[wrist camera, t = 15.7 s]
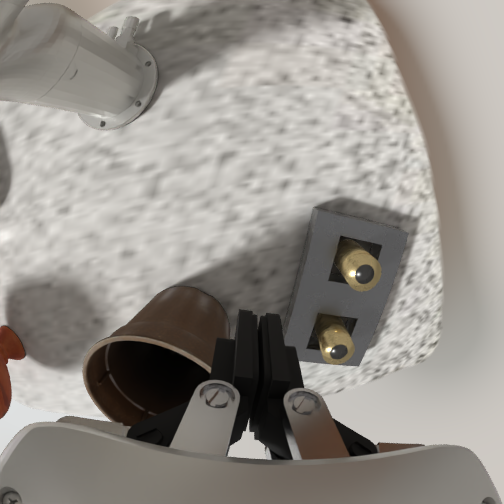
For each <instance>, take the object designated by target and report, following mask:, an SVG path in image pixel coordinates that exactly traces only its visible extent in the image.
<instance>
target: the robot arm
mask: <svg viewBox="0 0 504 504" xmlns="http://www.w3.org/2000/svg"><path fill="white" fill-rule="evenodd" d="M28 1H29V0H0V101H10V102H18V103H24V104H31V105H37V106H43V107H49V108H54V109H60V110H65V111H70V112H75V113H78V116H79V117H80V119H81V120H82V121H83V122H84V123H85V124H86V125H87V126H89V127H91V128H94V129H98V130H114V129H117V128H120V127H123V126H125V125H126V124H128V123H130V122H131V121H133V120H134V119H135V118H137V117H138V116H139V115H140V114H141V113H142V112H143V110H144V109H145V108H146V106H147V105H148V104H149V102H150V100H151V98H152V96H153V94H154V92H155V89H156V86H157V79H158V69H157V65H156V61H155V60H154V58H153V56H152V55H151V54H150V53H149V52H148V51H147V50H146V49H145V48H144V47H142V46H140V45H138V44H134V40H135V39H134V38H133V35H134V32H135V31H136V28H137V25H138V22H139V19H138V18H137V17H132V16H131V17H126V19H125V21H124V24H123V27H122V31H121V34H120V36H118V37H117V38H116V41H115V40H114V39H115V37H116V35H117V32H118V28H117V27H109V29H108V32H107V34H105V33H104V32H103V31H101V30H100V29H98V28H97V27H96V26H94V25H93V24H91V23H90V22H88V21H87V20H86V19H84V18H83V17H81V16H80V15H78V14H77V13H75V12H74V11H72V10H71V9H69V8H67V7H65V6H63V5H60V4H54V3H41V4H34V5H29V6H26V7H25V5H26V3H27V2H28ZM149 65H150V66H149ZM141 103H142V104H141ZM140 104H141V106H140ZM105 123H106V124H105ZM248 420H249V430H250V432H254V438H255V440H259V441H260V442H261V443H263V444H264V445H265V454H266V458H267V459H249V458H236V457H227V456H228V452H229V448H230V446H231V445H232V444H234V443H235V442H237V441H238V440H240V439H241V437H242V433H243V431H246V427H247V424H248ZM0 504H502V502H501V499H500V497H499V495H498V492H497V490H496V488H495V486H494V484H493V482H492V480H491V478H490V476H489V474H488V472H487V471H486V469H485V467H484V466H483V464H482V463H481V461H480V460H479V459H478V457H477V456H476V455H475V454H474V453H473V452H472V451H471V450H469V449H468V448H465V447H461V446H456V445H429V446H425V445H422V444H398V443H380V442H379V443H378V444H377V445H374V444H373V443H372V442H371V441H370V440H368V439H367V438H365V437H363V436H361V435H360V434H358V433H356V432H354V431H353V430H351V429H350V428H348V427H346V426H345V425H343V424H341V423H340V422H338V421H337V420H335V419H333V418H332V416H331V414H330V412H329V410H328V407H327V405H326V403H325V401H324V400H323V398H322V396H320V395H319V394H318V393H317V392H315V391H313V390H310V389H306V388H304V384H303V380H302V375H301V370H300V365H299V360H298V355H297V351H296V347H295V346H285V343H284V337H283V331H282V325H281V319H280V315H279V314H271V313H266V315H265V316H261V317H260V321H259V326H258V325H257V315H253V312H252V311H248V310H240V309H239V314H238V320H237V326H236V333H235V339H234V340H233V339H226V338H219V337H217V339H216V345H215V350H214V356H213V362H212V367H211V373H210V379H209V380H208V381H205V382H203V383H201V384H200V385H198V387H197V388H196V389H195V392H194V394H193V396H192V398H191V400H190V401H188V402H186V403H183V404H181V405H179V406H177V407H174V408H172V409H170V410H168V411H165V412H163V413H160V414H158V415H156V416H153V417H151V418H148V419H146V420H143V421H141V422H138V423H136V424H135V425H133V426H132V427H130V426H124V425H123V423H117V422H108V421H100V420H93V419H86V418H80V417H74V416H65V417H62V418H60V419H59V420H58V421H56V422H37V423H33V424H29V425H28V426H26V427H24V428H23V429H22V430H20V431H19V432H18V433H17V434H16V435H15V436H14V438H13V439H12V440H11V441H10V443H9V444H8V445H7V447H6V448H5V449H4V451H3V452H2V454H1V456H0Z"/></svg>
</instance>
